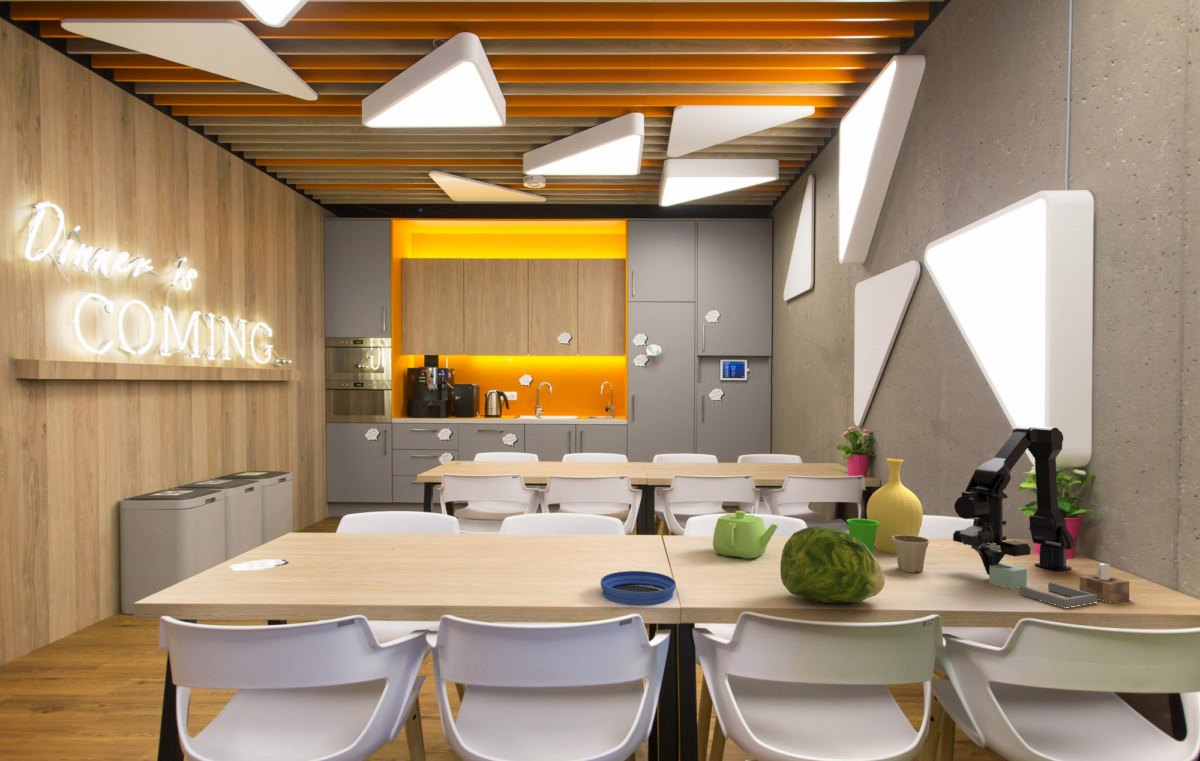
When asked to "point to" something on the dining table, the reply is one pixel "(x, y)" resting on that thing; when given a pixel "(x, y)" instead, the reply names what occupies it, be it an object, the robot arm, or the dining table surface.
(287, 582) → the dining table surface
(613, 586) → the bowl
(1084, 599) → the grey u-shaped bracket
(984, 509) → the robot arm
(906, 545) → the flower pot
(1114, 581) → the block
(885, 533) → the vase
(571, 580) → the dining table surface
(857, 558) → the lettuce
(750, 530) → the teapot
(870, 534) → the cup
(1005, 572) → the block
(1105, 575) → the cylinder
